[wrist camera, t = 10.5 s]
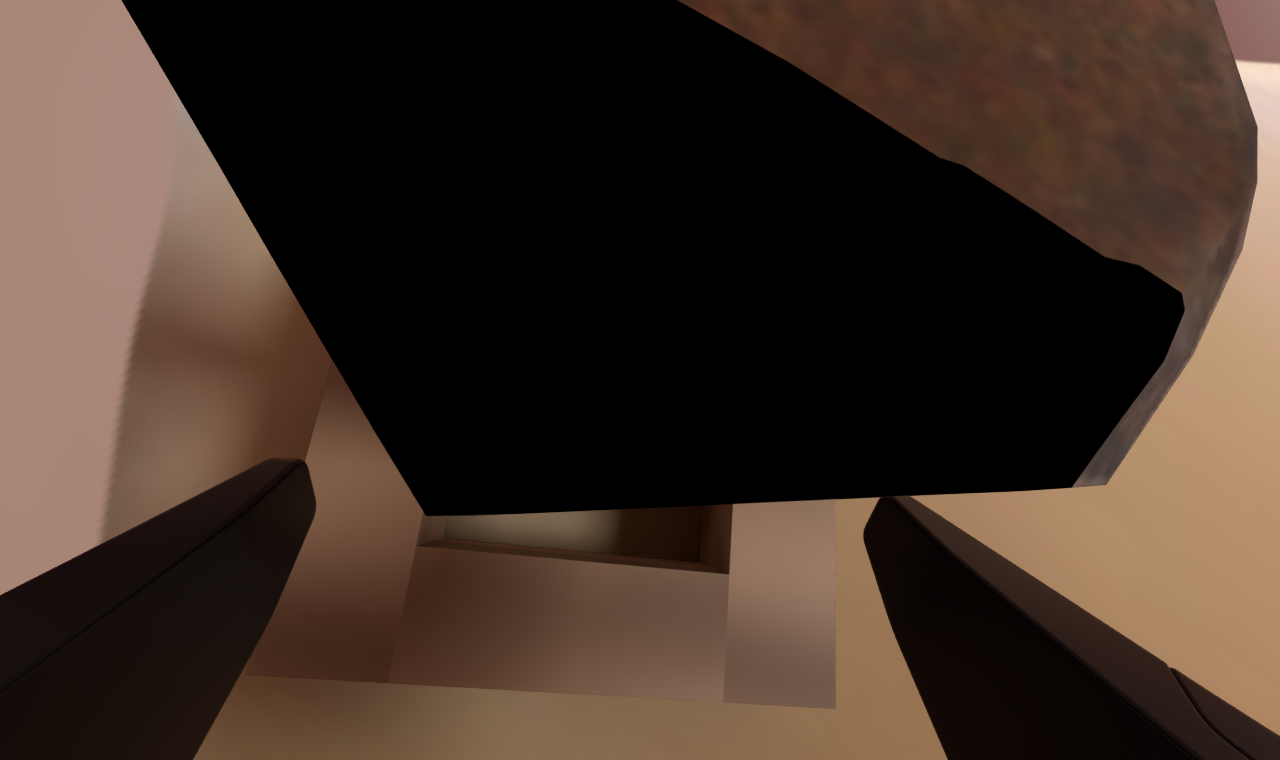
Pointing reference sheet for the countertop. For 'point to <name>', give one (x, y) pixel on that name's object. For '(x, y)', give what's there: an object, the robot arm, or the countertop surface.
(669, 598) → the jig
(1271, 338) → the countertop surface
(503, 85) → the bolt
